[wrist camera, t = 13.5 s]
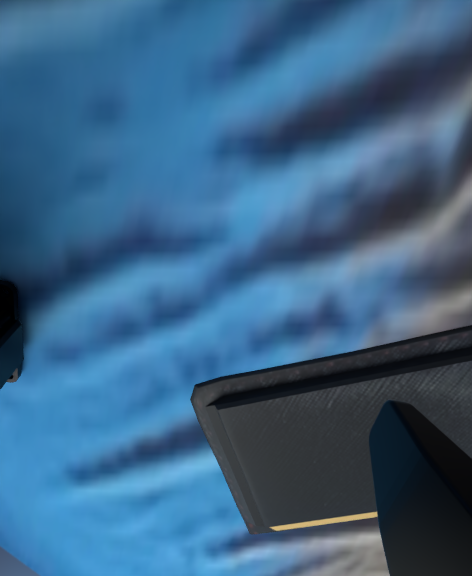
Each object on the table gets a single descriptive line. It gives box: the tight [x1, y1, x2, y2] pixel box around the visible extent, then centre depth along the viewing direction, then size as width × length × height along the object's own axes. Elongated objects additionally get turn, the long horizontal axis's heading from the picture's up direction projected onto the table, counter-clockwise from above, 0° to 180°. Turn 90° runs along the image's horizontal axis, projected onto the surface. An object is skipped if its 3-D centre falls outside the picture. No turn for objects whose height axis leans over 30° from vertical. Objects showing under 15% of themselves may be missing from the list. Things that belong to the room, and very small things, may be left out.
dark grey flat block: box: [190, 326, 472, 534], centre depth 26 cm, size 20×2×15 cm
